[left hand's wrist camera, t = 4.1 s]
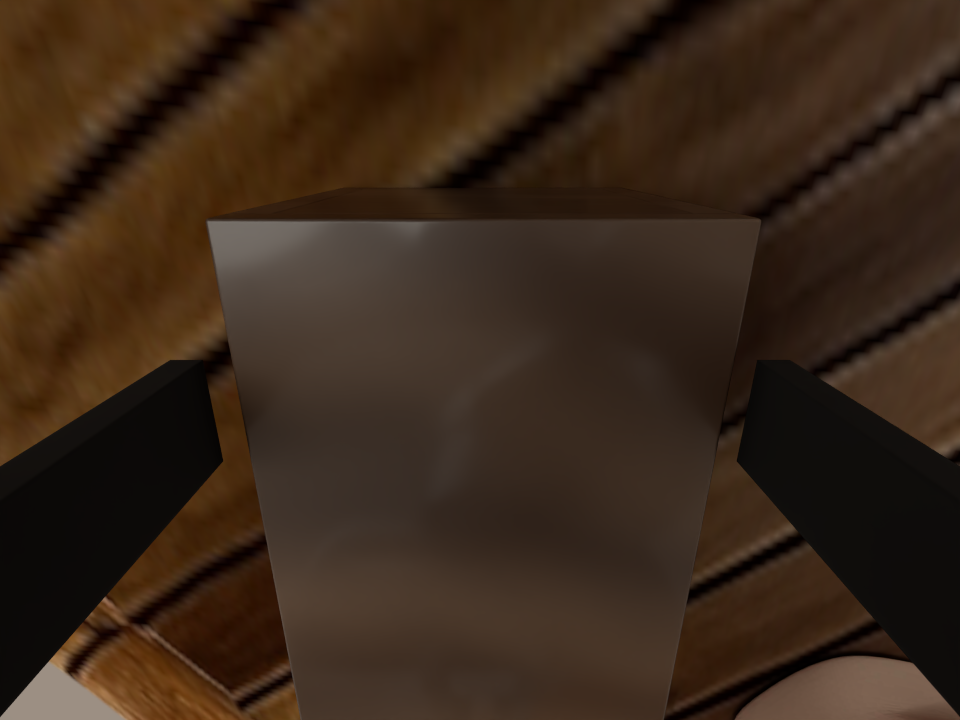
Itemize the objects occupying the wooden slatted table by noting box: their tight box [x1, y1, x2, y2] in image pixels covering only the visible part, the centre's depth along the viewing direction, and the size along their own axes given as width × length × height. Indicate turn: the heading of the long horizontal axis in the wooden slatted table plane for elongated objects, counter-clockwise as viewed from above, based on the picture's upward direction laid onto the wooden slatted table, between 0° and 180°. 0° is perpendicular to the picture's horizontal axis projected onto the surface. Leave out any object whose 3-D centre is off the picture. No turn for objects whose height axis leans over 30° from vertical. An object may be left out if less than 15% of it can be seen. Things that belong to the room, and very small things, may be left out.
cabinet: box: [206, 188, 761, 720], centre depth 18 cm, size 16×11×11 cm
